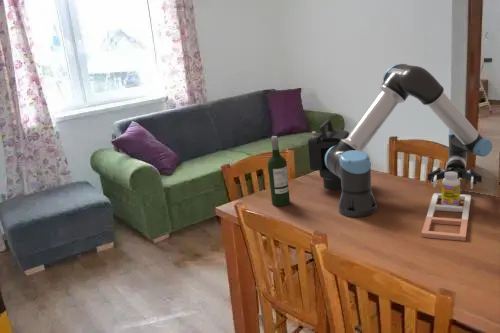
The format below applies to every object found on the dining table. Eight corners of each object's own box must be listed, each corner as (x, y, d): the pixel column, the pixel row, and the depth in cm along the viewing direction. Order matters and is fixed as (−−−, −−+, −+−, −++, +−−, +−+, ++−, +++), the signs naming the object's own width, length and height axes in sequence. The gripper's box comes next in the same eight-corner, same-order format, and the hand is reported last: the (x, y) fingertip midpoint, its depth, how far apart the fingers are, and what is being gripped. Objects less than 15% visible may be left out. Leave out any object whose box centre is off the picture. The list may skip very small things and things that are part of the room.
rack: (433, 196, 201) (433, 192, 200) (470, 198, 195) (470, 194, 194) (421, 236, 169) (421, 232, 168) (465, 240, 162) (465, 236, 162)
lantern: (350, 191, 216) (346, 126, 207) (311, 190, 223) (306, 126, 214) (356, 180, 229) (353, 118, 220) (319, 179, 236) (315, 118, 227)
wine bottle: (281, 207, 208) (274, 140, 199) (268, 203, 213) (261, 138, 204) (293, 201, 212) (287, 135, 203) (281, 198, 218) (274, 133, 209)
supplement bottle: (441, 206, 190) (441, 176, 186) (441, 200, 196) (441, 170, 192) (459, 207, 187) (460, 176, 184) (459, 201, 193) (460, 170, 189)
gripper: (488, 176, 204) (487, 195, 186) (425, 174, 215) (419, 191, 197) (488, 159, 202) (488, 177, 184) (425, 158, 213) (419, 174, 195)
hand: (452, 184), depth 190 cm, fingers open, 13 cm apart
